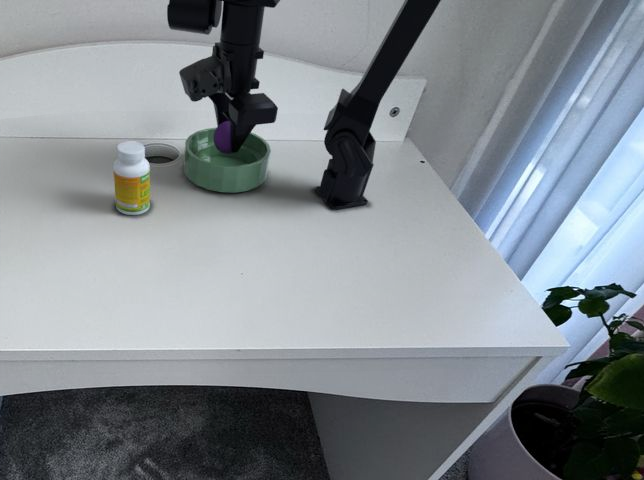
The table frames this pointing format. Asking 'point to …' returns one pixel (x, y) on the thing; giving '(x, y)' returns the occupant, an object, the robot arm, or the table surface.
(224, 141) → the ball
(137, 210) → the supplement bottle
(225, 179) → the bowl
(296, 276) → the table surface
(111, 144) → the table surface
